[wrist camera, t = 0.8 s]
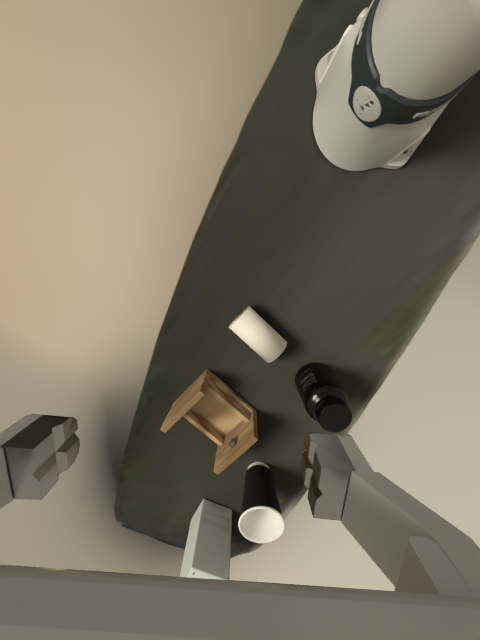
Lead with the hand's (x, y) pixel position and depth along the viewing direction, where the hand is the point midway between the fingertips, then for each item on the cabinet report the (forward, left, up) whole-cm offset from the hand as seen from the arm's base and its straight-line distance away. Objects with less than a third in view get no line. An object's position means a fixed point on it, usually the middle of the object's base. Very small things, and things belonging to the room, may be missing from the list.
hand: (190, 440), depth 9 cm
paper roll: (+2, +7, -33) cm, 34 cm away
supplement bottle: (+1, +21, -35) cm, 41 cm away
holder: (+19, +12, -35) cm, 42 cm away
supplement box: (+40, +30, -35) cm, 61 cm away
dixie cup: (+24, +29, -35) cm, 52 cm away
